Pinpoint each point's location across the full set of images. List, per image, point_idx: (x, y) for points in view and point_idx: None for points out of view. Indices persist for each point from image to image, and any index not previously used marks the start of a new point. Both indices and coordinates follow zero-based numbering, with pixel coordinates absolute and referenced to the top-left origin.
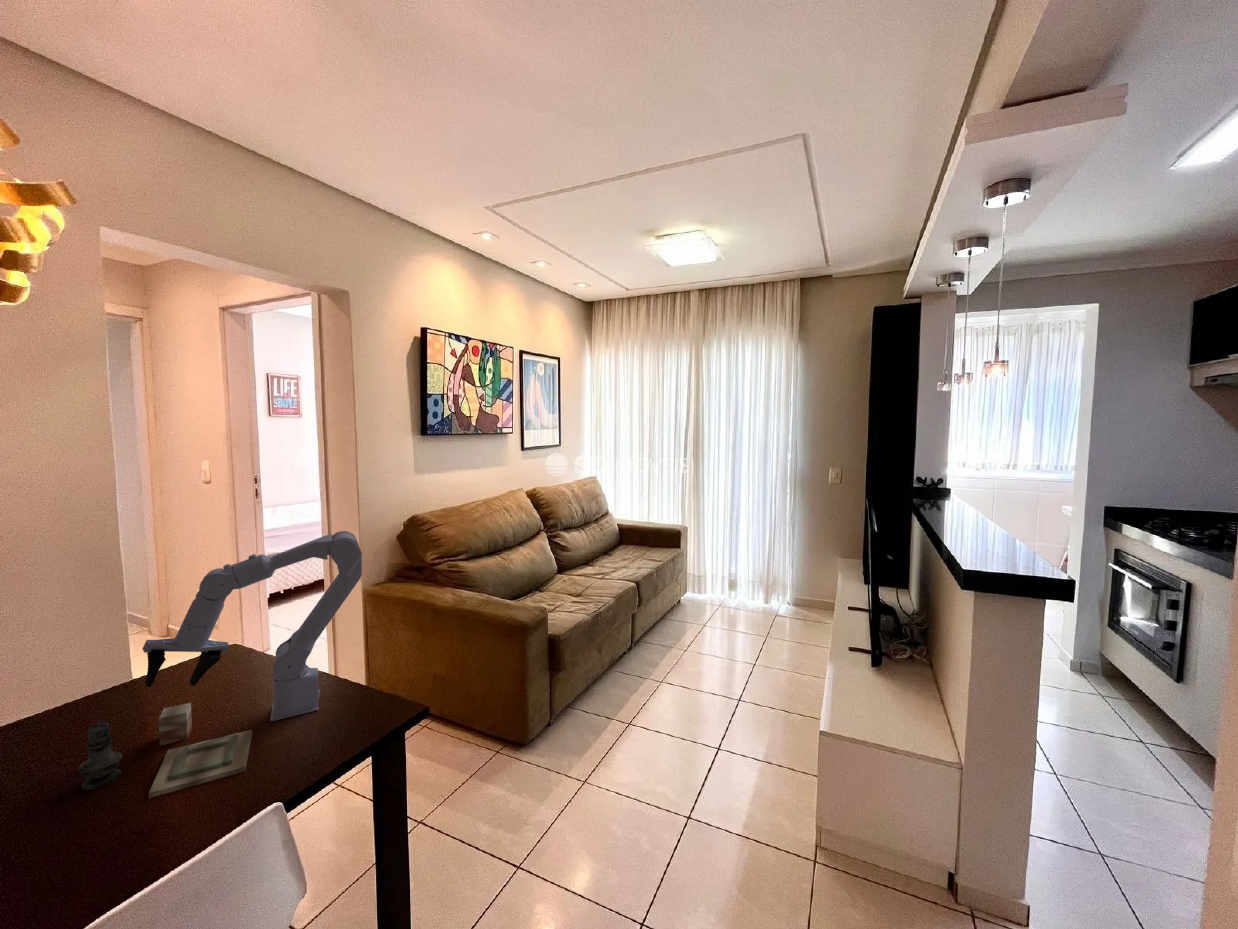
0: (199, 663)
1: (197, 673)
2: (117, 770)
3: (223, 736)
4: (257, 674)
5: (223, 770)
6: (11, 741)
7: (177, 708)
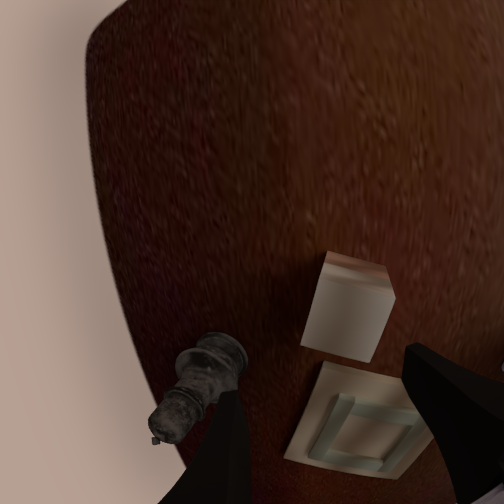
0: (461, 416)
1: (431, 413)
2: (240, 356)
3: None
4: None
5: (374, 473)
6: (85, 72)
7: (354, 313)
